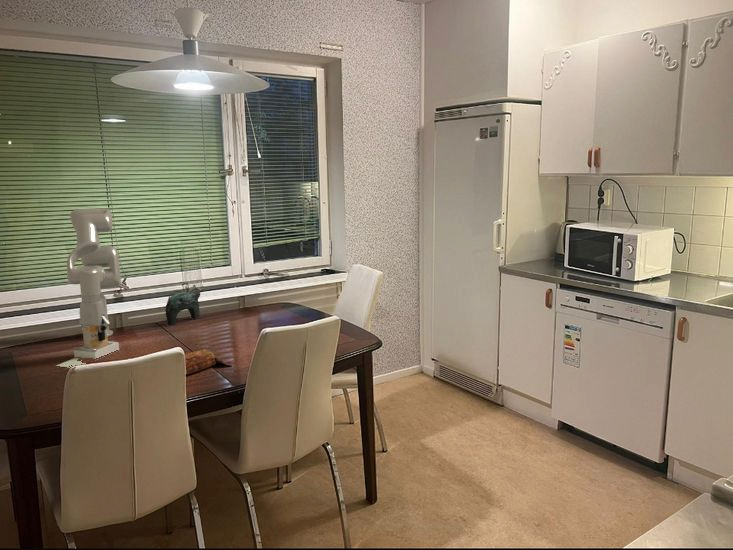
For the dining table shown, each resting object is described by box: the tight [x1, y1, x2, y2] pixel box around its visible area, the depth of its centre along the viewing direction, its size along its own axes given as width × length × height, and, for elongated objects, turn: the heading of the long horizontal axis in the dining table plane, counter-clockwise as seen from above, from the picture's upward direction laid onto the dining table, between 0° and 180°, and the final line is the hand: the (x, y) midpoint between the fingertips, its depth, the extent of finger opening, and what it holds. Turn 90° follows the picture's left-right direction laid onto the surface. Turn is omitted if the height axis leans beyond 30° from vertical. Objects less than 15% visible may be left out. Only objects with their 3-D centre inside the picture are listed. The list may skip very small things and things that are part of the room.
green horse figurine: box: [165, 282, 201, 326], centre depth 287 cm, size 20×6×20 cm, turn 144°
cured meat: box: [184, 348, 233, 376], centre depth 218 cm, size 18×25×7 cm
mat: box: [55, 357, 86, 369], centre depth 225 cm, size 10×10×1 cm
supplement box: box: [81, 324, 109, 350], centre depth 237 cm, size 8×5×13 cm, turn 148°
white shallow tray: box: [72, 340, 120, 359], centre depth 237 cm, size 11×14×4 cm
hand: (95, 339), depth 237 cm, fingers closed on supplement box, 5 cm apart
